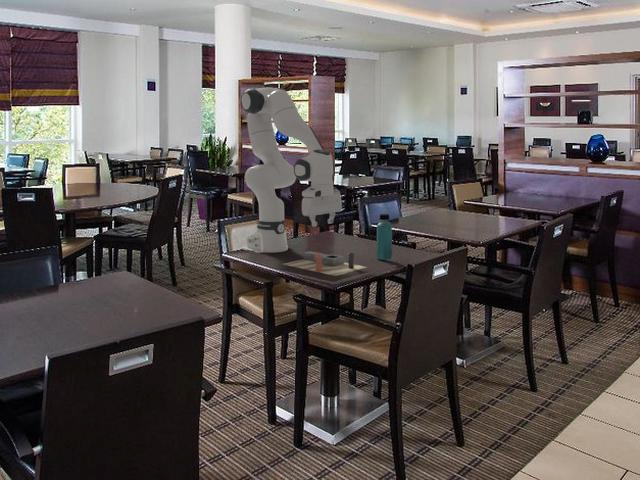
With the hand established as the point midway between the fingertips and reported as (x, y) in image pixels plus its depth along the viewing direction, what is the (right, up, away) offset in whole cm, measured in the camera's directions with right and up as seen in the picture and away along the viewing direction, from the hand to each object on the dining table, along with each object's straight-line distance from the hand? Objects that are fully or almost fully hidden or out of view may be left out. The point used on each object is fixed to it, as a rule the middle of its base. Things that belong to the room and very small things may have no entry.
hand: (322, 224), depth 263 cm
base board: (+1, -17, -3) cm, 18 cm away
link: (0, -15, +3) cm, 15 cm away
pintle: (+11, -18, -7) cm, 22 cm away
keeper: (-2, -17, -9) cm, 20 cm away
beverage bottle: (+26, -15, +8) cm, 31 cm away
